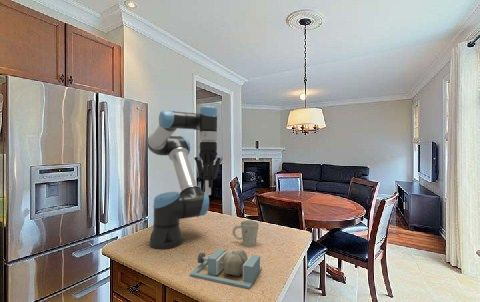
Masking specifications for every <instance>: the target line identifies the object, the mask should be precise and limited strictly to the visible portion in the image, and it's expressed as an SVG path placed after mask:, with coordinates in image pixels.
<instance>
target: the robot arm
mask: <svg viewBox="0 0 480 302" xmlns="http://www.w3.org/2000/svg"><path fill="white" fill-rule="evenodd" d="M177 129H181V130H182V129H184V130H195V131H199V141H200V142H199V153H198V155H197V156H195V157H194V158H193V159H194V161H195V163H196V166H197V173H198V177H199V179H201V180H202V182H203V188H204V191H203V190H202V188H201V186H198V185H197V182H196V180H195V177H194V173H193V169H192V166H191V163H190V161H189V158H188V157H189V155H190V153H191V152H190V151H191V146H190V145H191V144H190V143H191V142H190V141H189V139H188V138H187V137H186V136H182V135H178V136H177V135H176V136H175V135H173V134H174V133H175V131H177ZM217 141H218V109H217V107H216V106H215V105H214V106H213V105H203V106H200V107H199V113H198V112H197V113H196V112H195V113H194V112H185V111H184V112H183V111H175V110H173V111H172V110H161V111H160V112H159V115H158V126H157V128H156V129H155V131H154V132H153V133H151V134H150V135H149V136H148V137H147V140H146V147H147V149H148V150H149V151H150V152H152V153H153V154H155V155H158V156H168V158H169V160H170V161H171V162H172V163H173V166H174V170H175V174H176V177H177V181H178V184H179V188H180V192H179V191H168V192H163V193H160V194H157V195H156V196H155V197H154V198H153V207H152V208H153V229H152V231H151V233H150V238H149V246H150V248H154V249H159V250H165V249H166V250H167V249H173V248H176V247H179V246H181V244H183V243H184V236H183V233H182V230H181V227H180V220H183V219H189V218H199V217H201V216H205V215H206V214H207V213H208V212H209V208H210V197H209V196H211V195H212V188H213V184H214V181H213V180H216V179H217V178H218V174H219V170H220V167H221V162H222V161H223V157H222V156H219V155H218V154H219V153H218V152H217V150H218V144H217Z"/></svg>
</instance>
